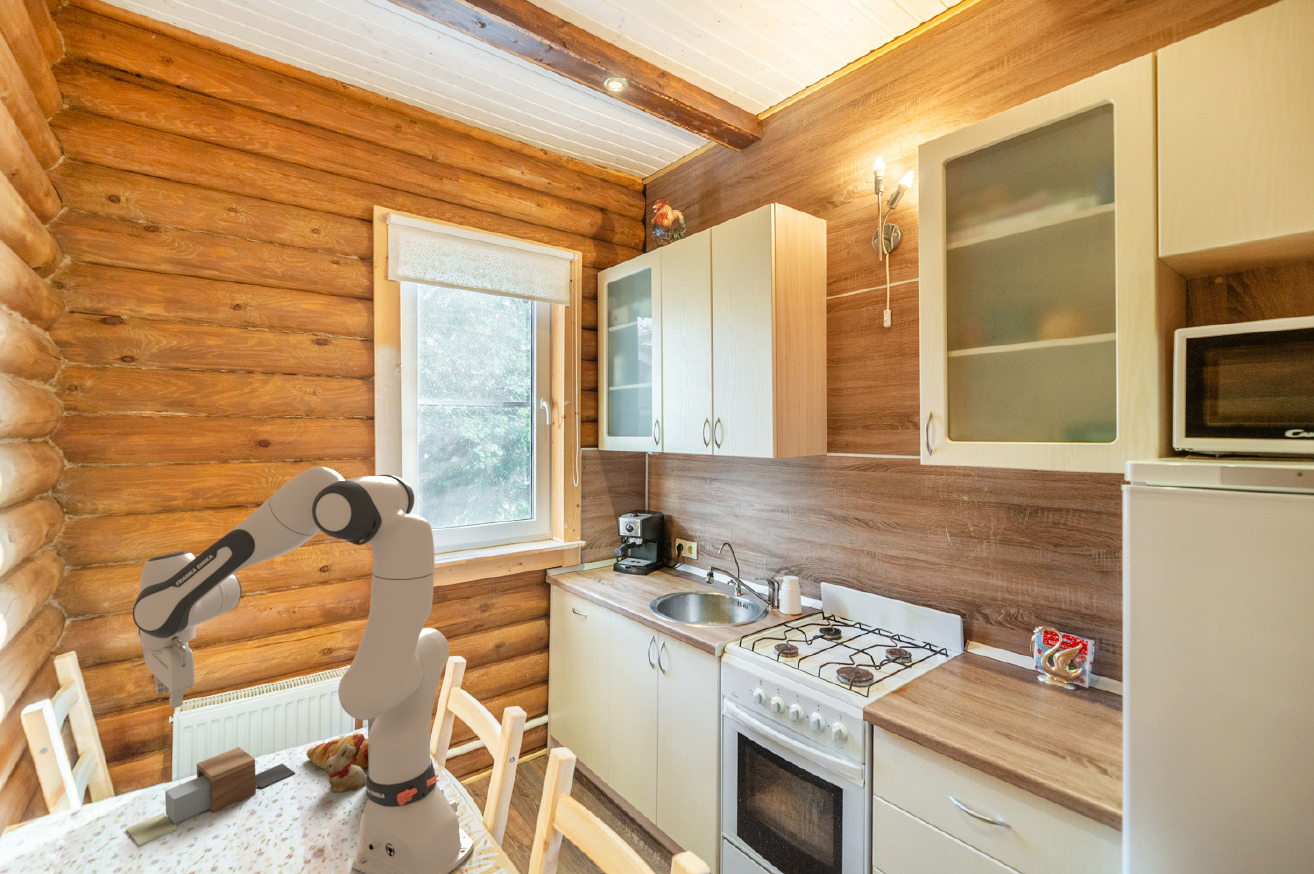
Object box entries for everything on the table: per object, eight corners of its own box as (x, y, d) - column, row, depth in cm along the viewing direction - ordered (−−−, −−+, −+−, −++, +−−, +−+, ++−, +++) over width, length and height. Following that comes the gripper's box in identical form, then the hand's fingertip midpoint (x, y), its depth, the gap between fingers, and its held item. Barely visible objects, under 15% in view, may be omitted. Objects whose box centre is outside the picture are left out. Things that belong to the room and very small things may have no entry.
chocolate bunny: (338, 778, 138) (337, 735, 137) (370, 779, 137) (370, 736, 137) (322, 792, 132) (321, 748, 132) (356, 794, 132) (355, 749, 131)
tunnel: (296, 775, 139) (296, 741, 139) (139, 846, 115) (138, 806, 115) (280, 763, 144) (279, 731, 143) (125, 829, 120) (124, 791, 120)
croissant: (300, 780, 143) (287, 760, 139) (323, 741, 151) (312, 721, 147) (384, 783, 140) (374, 763, 137) (403, 743, 149) (394, 723, 145)
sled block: (226, 800, 129) (225, 777, 129) (174, 823, 121) (173, 799, 121) (216, 792, 132) (216, 769, 132) (165, 814, 124) (165, 790, 124)
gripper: (204, 640, 118) (204, 709, 118) (173, 617, 131) (174, 680, 131) (163, 649, 113) (164, 721, 113) (136, 625, 126) (136, 690, 126)
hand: (169, 699), depth 122 cm, fingers open, 8 cm apart
